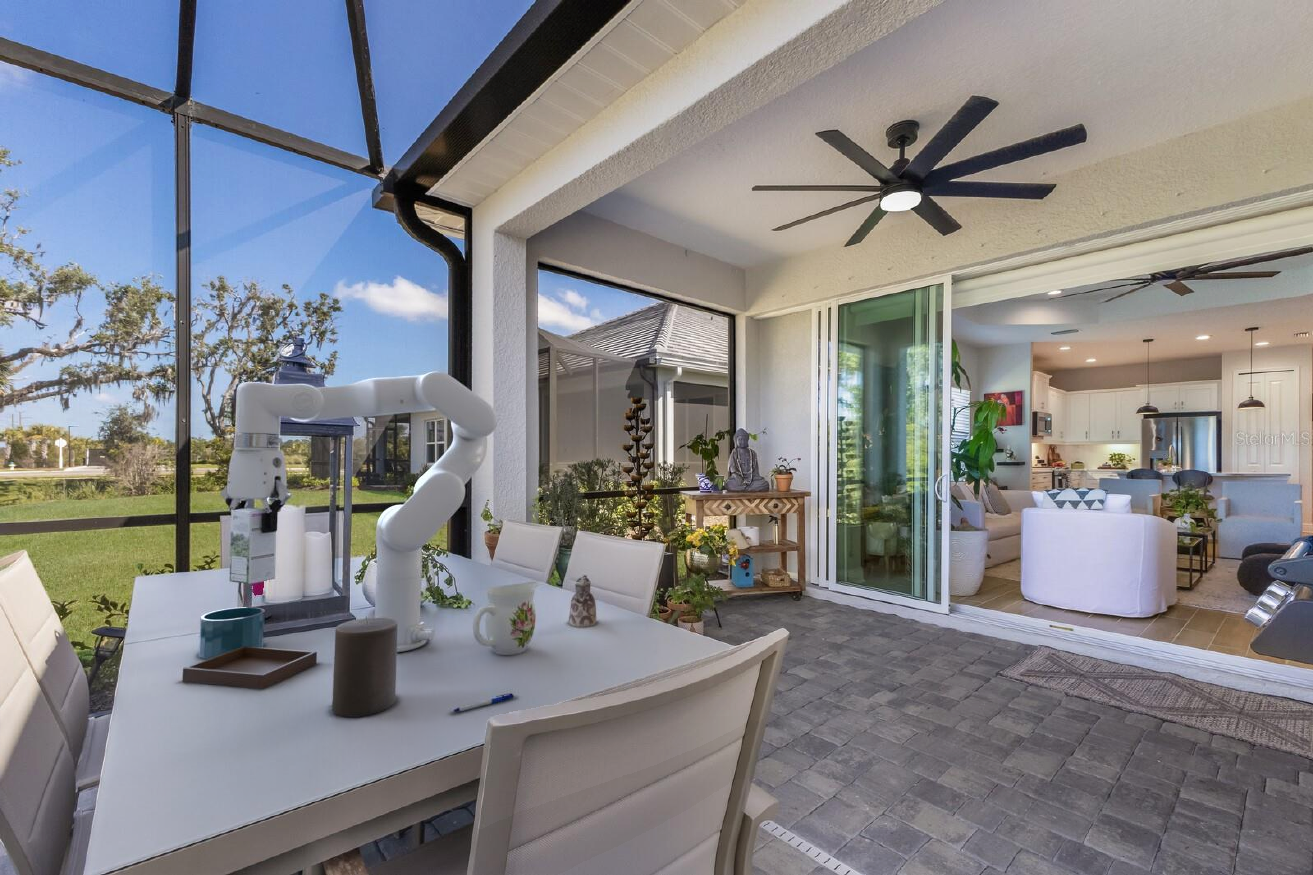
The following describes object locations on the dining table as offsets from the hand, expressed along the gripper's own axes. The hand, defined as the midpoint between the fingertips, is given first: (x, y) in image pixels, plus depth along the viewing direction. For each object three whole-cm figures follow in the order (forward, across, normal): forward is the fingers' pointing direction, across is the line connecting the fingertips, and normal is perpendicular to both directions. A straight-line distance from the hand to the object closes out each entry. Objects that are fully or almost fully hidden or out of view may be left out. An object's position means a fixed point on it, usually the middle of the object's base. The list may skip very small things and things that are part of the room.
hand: (254, 530), depth 116 cm
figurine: (+28, -56, -45) cm, 77 cm away
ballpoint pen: (+28, -54, +7) cm, 61 cm away
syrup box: (+10, 0, 0) cm, 10 cm away
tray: (+27, -3, +2) cm, 27 cm away
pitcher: (+28, -46, -20) cm, 57 cm away
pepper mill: (+27, +28, -30) cm, 50 cm away
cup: (+27, +12, -8) cm, 31 cm away
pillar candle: (+28, -34, +11) cm, 45 cm away
